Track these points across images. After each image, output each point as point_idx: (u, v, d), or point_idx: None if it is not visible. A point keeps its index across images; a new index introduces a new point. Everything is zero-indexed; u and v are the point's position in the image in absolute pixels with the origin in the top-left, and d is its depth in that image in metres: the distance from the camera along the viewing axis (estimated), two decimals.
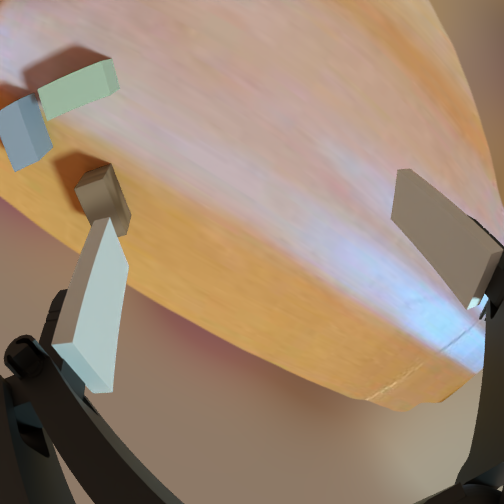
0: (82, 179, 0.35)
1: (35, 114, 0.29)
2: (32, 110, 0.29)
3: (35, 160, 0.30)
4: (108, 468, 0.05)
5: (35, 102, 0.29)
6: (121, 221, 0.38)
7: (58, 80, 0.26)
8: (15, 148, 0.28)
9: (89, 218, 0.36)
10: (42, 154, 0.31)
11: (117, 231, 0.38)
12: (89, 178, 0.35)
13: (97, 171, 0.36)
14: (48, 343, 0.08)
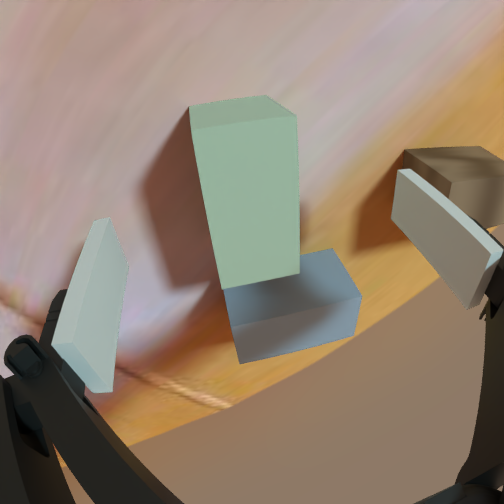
0: None
1: None
2: (257, 285, 0.20)
3: (358, 301, 0.19)
4: (108, 468, 0.05)
5: None
6: None
7: (215, 243, 0.14)
8: (318, 332, 0.20)
9: None
10: (349, 281, 0.20)
11: None
12: None
13: None
14: (48, 343, 0.08)
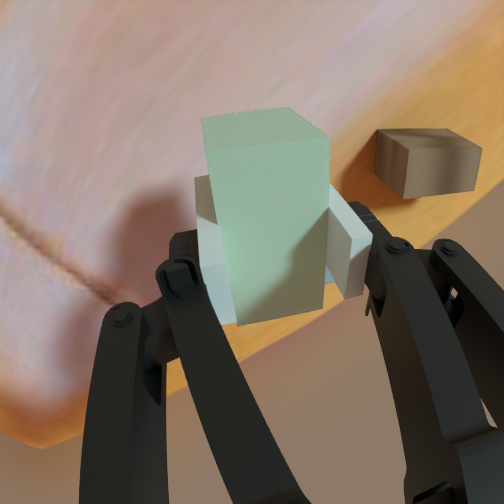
0: (387, 180, 0.24)
1: None
2: None
3: None
4: (235, 403, 0.06)
5: None
6: (466, 147, 0.20)
7: (232, 279, 0.13)
8: None
9: (445, 191, 0.22)
10: None
11: (474, 158, 0.21)
12: (393, 169, 0.23)
13: (383, 153, 0.24)
14: None
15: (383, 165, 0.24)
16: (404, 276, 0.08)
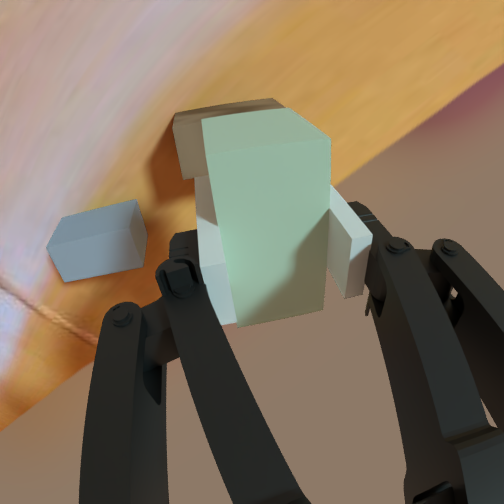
0: None
1: (81, 219, 0.26)
2: (74, 224, 0.26)
3: (128, 233, 0.24)
4: (235, 403, 0.06)
5: (71, 217, 0.27)
6: None
7: (232, 281, 0.13)
8: (108, 259, 0.25)
9: None
10: (128, 219, 0.25)
11: None
12: None
13: None
14: None
15: None
16: (404, 276, 0.08)
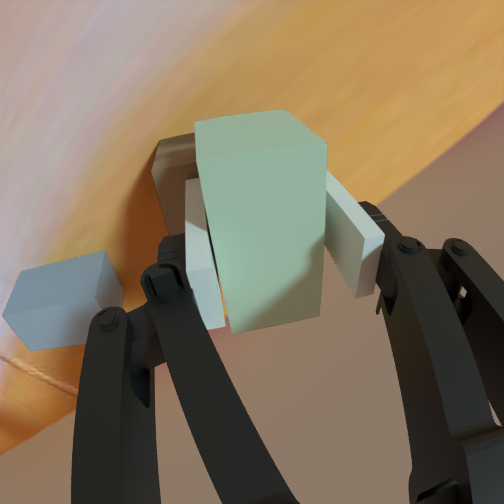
0: None
1: (41, 277, 0.20)
2: (33, 283, 0.19)
3: (94, 303, 0.18)
4: (222, 407, 0.06)
5: (31, 272, 0.20)
6: None
7: (226, 288, 0.12)
8: (76, 330, 0.19)
9: None
10: (94, 283, 0.19)
11: None
12: None
13: None
14: None
15: None
16: (416, 275, 0.08)
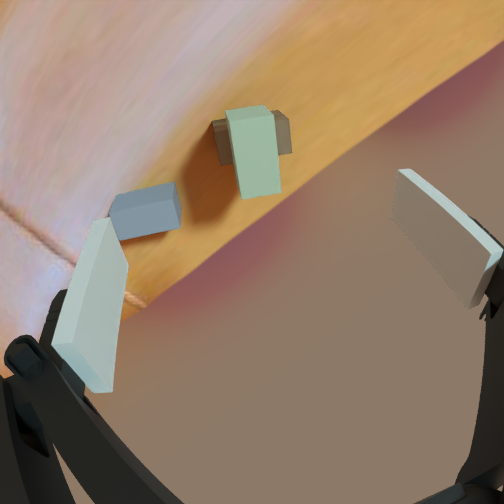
0: None
1: (134, 195, 0.38)
2: (128, 198, 0.38)
3: (171, 202, 0.36)
4: (108, 468, 0.05)
5: (125, 194, 0.39)
6: None
7: (239, 173, 0.30)
8: (155, 221, 0.37)
9: None
10: (170, 193, 0.37)
11: (282, 128, 0.33)
12: None
13: None
14: (48, 343, 0.08)
15: None
16: None
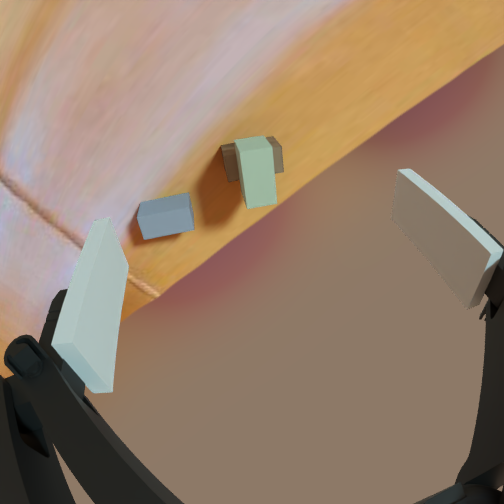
0: (226, 172, 0.47)
1: (156, 203, 0.48)
2: (152, 205, 0.48)
3: (188, 210, 0.46)
4: (108, 468, 0.05)
5: (148, 202, 0.49)
6: None
7: (245, 189, 0.41)
8: (174, 225, 0.47)
9: None
10: (187, 203, 0.47)
11: (276, 153, 0.43)
12: (225, 166, 0.45)
13: (223, 158, 0.46)
14: (48, 343, 0.08)
15: (224, 164, 0.47)
16: None
